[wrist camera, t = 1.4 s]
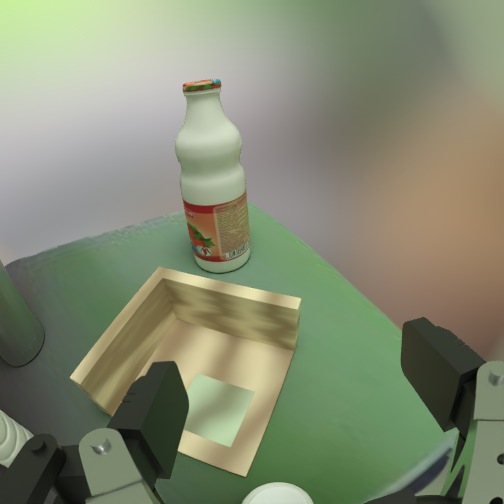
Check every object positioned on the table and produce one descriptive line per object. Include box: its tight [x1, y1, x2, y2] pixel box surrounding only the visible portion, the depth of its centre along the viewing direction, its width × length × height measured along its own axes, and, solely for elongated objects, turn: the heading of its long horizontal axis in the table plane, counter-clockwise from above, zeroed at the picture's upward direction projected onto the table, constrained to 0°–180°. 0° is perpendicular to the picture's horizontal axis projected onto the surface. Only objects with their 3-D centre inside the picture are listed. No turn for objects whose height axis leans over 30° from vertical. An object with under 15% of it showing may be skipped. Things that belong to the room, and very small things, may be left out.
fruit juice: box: [175, 79, 251, 273], centre depth 42 cm, size 9×9×28 cm
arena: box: [70, 267, 301, 477], centre depth 29 cm, size 18×18×8 cm
